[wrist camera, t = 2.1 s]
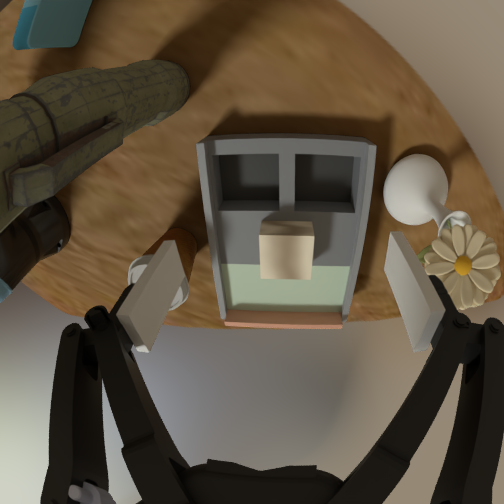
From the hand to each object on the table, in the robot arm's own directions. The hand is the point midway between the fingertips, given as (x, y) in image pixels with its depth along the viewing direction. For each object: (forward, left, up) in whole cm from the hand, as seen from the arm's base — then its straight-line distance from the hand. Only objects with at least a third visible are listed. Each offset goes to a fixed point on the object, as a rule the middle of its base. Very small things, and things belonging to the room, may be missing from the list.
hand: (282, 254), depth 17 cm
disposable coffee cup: (-18, -15, -25) cm, 34 cm away
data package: (-32, +29, -25) cm, 50 cm away
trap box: (0, -11, -25) cm, 27 cm away
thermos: (-17, +11, -25) cm, 32 cm away
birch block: (0, -12, -21) cm, 24 cm away
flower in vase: (+19, -4, -25) cm, 32 cm away
